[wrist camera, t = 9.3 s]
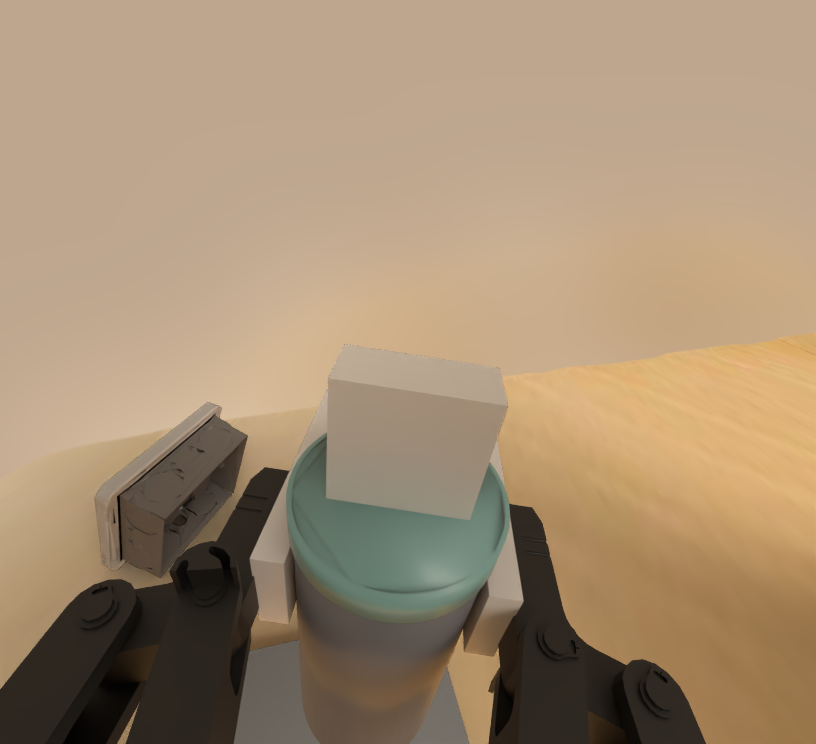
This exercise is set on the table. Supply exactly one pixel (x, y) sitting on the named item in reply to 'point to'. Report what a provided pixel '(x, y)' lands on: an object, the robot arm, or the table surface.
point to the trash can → (392, 537)
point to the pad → (284, 715)
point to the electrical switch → (169, 492)
